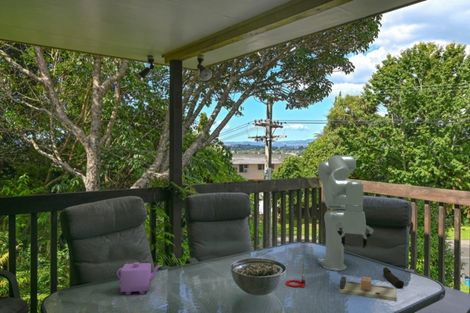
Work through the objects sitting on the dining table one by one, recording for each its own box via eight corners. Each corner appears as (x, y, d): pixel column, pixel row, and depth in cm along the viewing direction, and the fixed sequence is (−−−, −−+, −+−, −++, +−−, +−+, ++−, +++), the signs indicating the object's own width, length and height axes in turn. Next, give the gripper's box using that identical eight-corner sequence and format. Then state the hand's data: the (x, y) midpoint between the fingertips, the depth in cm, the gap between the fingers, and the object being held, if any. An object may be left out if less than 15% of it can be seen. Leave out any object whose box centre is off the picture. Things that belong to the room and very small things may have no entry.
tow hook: (284, 287, 167) (304, 288, 165) (283, 259, 167) (303, 260, 165) (286, 281, 175) (306, 282, 173) (285, 255, 175) (304, 255, 173)
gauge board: (338, 292, 160) (338, 282, 160) (341, 283, 171) (341, 274, 171) (396, 301, 151) (396, 290, 151) (395, 291, 162) (395, 281, 162)
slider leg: (360, 290, 158) (360, 281, 158) (361, 284, 165) (361, 276, 165) (370, 291, 157) (370, 282, 157) (370, 286, 163) (370, 277, 163)
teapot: (114, 295, 155) (114, 267, 154) (119, 287, 165) (119, 260, 165) (161, 293, 157) (161, 265, 157) (163, 285, 167) (163, 258, 167)
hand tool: (404, 289, 165) (404, 279, 165) (395, 289, 166) (395, 279, 166) (389, 275, 184) (389, 266, 184) (381, 275, 184) (381, 266, 184)
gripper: (333, 208, 163) (333, 246, 163) (374, 210, 157) (374, 250, 157) (335, 206, 170) (335, 242, 170) (374, 208, 164) (374, 246, 164)
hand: (353, 246), depth 163 cm, fingers open, 8 cm apart
